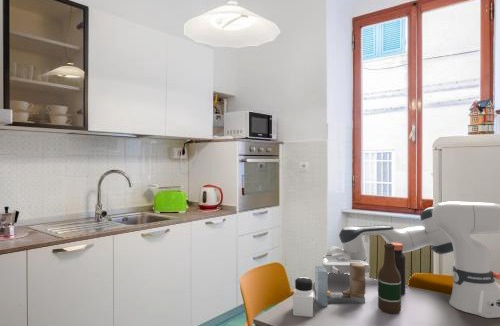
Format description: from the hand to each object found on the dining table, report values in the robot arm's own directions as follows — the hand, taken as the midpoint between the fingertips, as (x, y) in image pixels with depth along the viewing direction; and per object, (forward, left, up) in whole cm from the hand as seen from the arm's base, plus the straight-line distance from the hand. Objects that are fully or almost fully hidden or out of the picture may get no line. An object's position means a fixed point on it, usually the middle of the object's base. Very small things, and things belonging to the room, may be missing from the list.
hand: (349, 272), depth 141 cm
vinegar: (-19, 0, -8) cm, 21 cm away
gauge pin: (+13, +10, -6) cm, 17 cm away
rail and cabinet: (+7, +12, -8) cm, 16 cm away
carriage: (+1, +10, -6) cm, 12 cm away
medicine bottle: (+22, +20, -8) cm, 31 cm away
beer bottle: (-10, +18, -8) cm, 22 cm away
